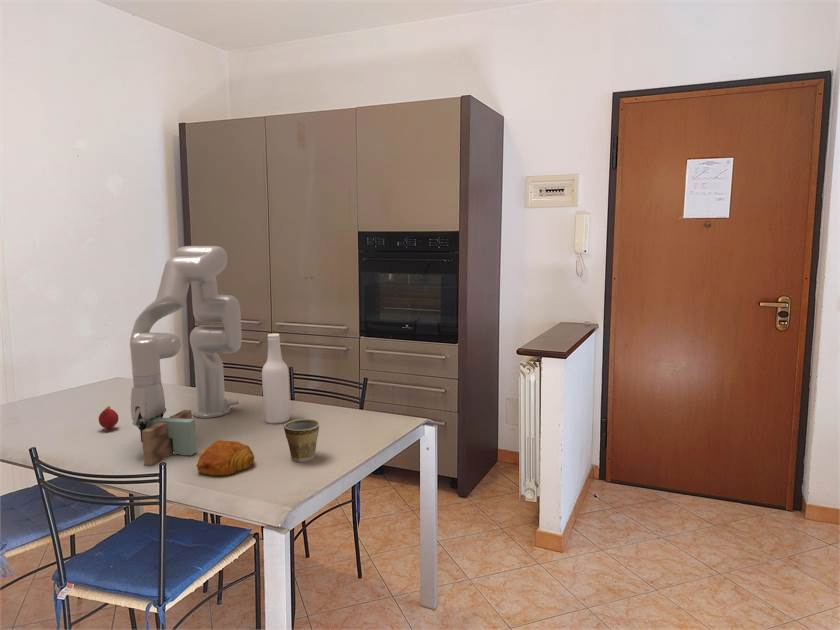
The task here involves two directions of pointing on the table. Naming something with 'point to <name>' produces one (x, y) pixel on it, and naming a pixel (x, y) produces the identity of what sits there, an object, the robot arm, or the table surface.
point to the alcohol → (275, 384)
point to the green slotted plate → (179, 434)
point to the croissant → (225, 458)
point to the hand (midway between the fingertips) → (151, 438)
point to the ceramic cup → (302, 438)
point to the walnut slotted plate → (159, 440)
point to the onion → (108, 418)
